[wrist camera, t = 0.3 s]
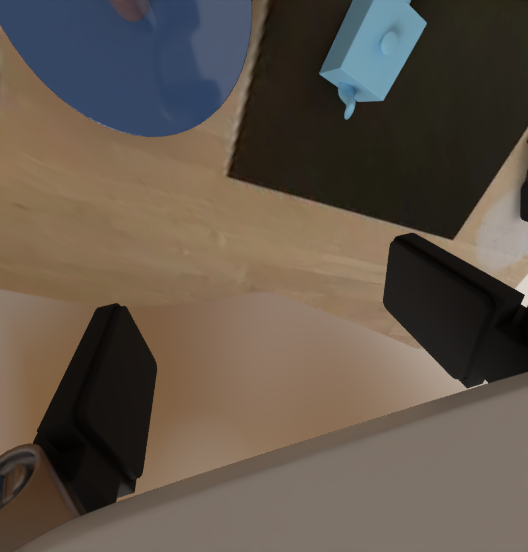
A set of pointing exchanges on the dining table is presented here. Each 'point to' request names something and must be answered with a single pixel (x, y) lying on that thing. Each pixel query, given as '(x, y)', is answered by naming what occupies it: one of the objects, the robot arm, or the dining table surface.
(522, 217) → the electric trimmer
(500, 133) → the dining table surface
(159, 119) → the lid
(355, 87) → the teapot
